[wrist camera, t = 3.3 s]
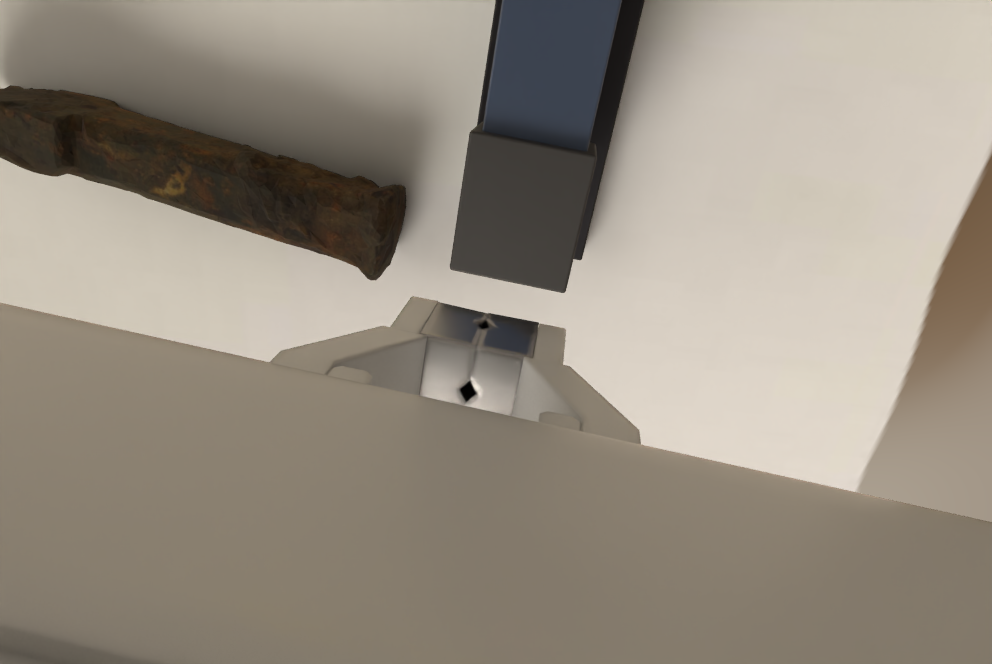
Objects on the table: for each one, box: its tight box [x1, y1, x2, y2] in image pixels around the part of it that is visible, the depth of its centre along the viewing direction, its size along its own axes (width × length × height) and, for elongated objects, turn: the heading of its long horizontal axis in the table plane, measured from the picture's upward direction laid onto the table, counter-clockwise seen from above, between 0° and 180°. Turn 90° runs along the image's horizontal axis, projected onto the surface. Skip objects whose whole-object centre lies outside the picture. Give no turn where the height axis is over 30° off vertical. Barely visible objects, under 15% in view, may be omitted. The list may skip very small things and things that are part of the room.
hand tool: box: [0, 86, 406, 280], centre depth 26 cm, size 19×4×5 cm, turn 71°
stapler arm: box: [450, 0, 622, 293], centre depth 18 cm, size 16×4×2 cm, turn 170°
